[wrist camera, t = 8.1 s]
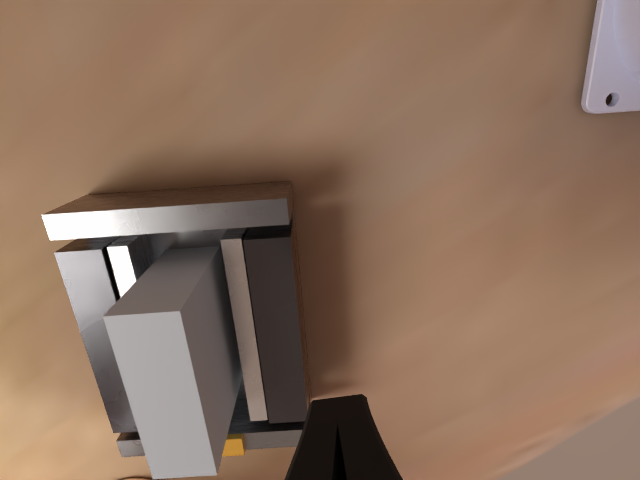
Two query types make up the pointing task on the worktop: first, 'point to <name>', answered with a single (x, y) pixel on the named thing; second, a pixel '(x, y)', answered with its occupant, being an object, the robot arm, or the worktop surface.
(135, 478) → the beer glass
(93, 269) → the rack
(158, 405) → the panel
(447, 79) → the worktop surface
